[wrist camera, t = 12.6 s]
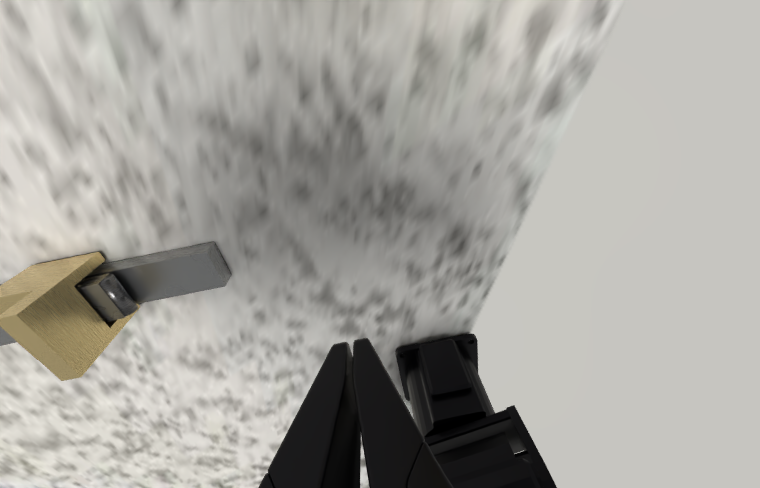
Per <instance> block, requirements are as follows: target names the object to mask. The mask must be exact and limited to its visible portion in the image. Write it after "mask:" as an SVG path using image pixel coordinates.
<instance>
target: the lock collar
mask: <svg viewBox="0 0 760 488" xmlns="http://www.w3.org/2000/svg"><path fill="white" fill-rule="evenodd" d="M104 261H105V259H104V258H103V256H102V255H101V254H100V252H96V253H91V254H86V255H81V256H76V257H71V258H66V259H61V260H56V261H51V262H46V263H41V264H36V265H32V266H30V267H29V268H27V269H25V270H24V271H22V272H21V273H19V274H18V275H16V276H15V277H13V278H11V279H10V280H8V281H7V282H5V283H4V284H2V285H1V286H0V327H1V328H2V329H3V330H5V331H6V332H7V333H8V334H9V335H10V336H11V337H12V338H13V339H15V340H16V341H17V342H18V343H19V344H20V345H21V346H22V347H23V348H25V349H26V350H27V351H28V352H29V353H30V354H31V355H32V356H34V357H35V358H36V359H37V360H39V361H40V362H41V363H42V364H43V365H45V366H46V367H47V368H48V369H49V370H50V371H51V372H52V373H53V374H55V375H56V376H57V377H58V378H59V379H60V380H61V381H64V380H69V379H74V378H79V377H82V375H83V374H84V373H85V372H86V371H87V370H88V368H89V367H90V366H91V365H92V364H93V362H94V361H95V360H96V359H97V358H98V356H99V355H100V354H101V353H102V352H103V351H104V349H105V348H106V347H107V346H108V345H109V343H110V342H111V341H112V340H113V339H114V338H115V336H116V335H117V334H118V333H119V332H120V330H121V329H122V328H123V327H124V326H125V325H126V323H127V322H128V321H129V320H130V319H131V317H132V316H133V315H134V314H135V313H136V311H137V310H138V309H139V308H140V305H139V304H136V305H137V306H138V309H137V310H136V311H135V312H134V313H132V314H130V315H128V316H126V317H125V318H122V319H117V320H113V321H108V322H104V321H103V320H102V318H101V317H100V316H99V315H98V314H97V313H96V311H95V310H94V309H93V308H92V307H91V306H90V305H89V303H88V302H87V301H86V300H85V299H84V298H83V296H82V295H81V294H80V293H79V292H78V291H77V290H76V288H75V287H74V286H75V285H76V284H77V283H78V282H79V281H81V280H82V279H83V278H84V277H86V276H87V275H88V274H89V273H90V272H92V271H93V270H94V269H95V268H97V267H98V266H99V265H100V264H101V263H103V262H104Z"/></svg>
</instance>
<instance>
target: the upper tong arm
mask: <svg viewBox="0 0 760 488" xmlns="http://www.w3.org/2000/svg"><path fill="white" fill-rule="evenodd" d="M74 287H75V288H76V290H77V291H78V292H79V293H80V294H81V295H82V296H83V298H84V299H85V300H86V301H87V302H88V303H89V305H90V306H91V307H92V308H93V309H94V310H95V311H96V313H97V314H98V315H99V316H100V317H101V318H102V320H103V321H104V322H108V321H113V320H117V319H122V318H125V317H126V316H128V315H130V314H132V313H134V312H135V311H136V310H137V309H138V306H137V305H136V303H135V302H134V301H133V299H132V298H131V297H130V295H129V294H128V293H127V292H126V290H125V289H124V288H123V286H122V285H121V284H120V282H119V281H118V280H117V278H116V277H115V276H114V275H113V274H109V273H108V274H103V275H99V276H94V277H90V278H85V279H82V280H81V281H79V282H78V283H77V284H76V285H75V286H74ZM15 342H17V341H16V340H15V339H13V338H12V337H11V336H10V335H9V334H8V333H7V332H6V331H5V330H3V329H2V328H1V327H0V346H2V345H6V344H10V343H15Z"/></svg>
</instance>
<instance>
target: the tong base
mask: <svg viewBox="0 0 760 488" xmlns="http://www.w3.org/2000/svg"><path fill="white" fill-rule="evenodd" d="M108 273H109V274H113V275H114V276H115V277H116V278H117V280H118V281H119V282H120V284H121V285H122V286H123V288H124V289H125V290H126V292H127V293H128V294H129V295H130V297H131V298H132V299H133V301H134V302H135V303H136V304H139V303H144V302H149V301H154V300H159V299H164V298H169V297H174V296H179V295H184V294H189V293H194V292H199V291H204V290H209V289H214V288H219V287H224V286H226V284H227V282H228V280H229V278H230V276H231V273H230V271H229V269H228V267H227V265H226V263H225V262H224V260H223V258H222V256H221V254H220V252H219V250H218V248H217V246H216V244H215V242H210V243H205V244H200V245H195V246H190V247H185V248H181V249H176V250H171V251H166V252H161V253H156V254H151V255H146V256H141V257H136V258H131V259H126V260H121V261H116V262H111V263H106V264H101V265H99V266H98V267H97V268H95V269H94V270H93V271H92V272H90V273H89V274H88V275H87V276H86V277H84V278H83V279H85V278H90V277H94V276H99V275H103V274H108ZM1 285H2V284H1ZM1 285H0V286H1Z"/></svg>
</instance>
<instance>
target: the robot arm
mask: <svg viewBox="0 0 760 488" xmlns="http://www.w3.org/2000/svg"><path fill="white" fill-rule="evenodd" d="M402 353H403V354H402ZM396 357H397V362H398V367H399V371H400V376H401V380H402V385H403V389H404V394H405V398H406V400H408V401H410V402H411V407H412V412H413V417H414V419H413V418H412V416H411V414H410V412H409V410H408V409H407V407H406V405H405V403H404V401H403V400H402V398H401V396H400V394H399V393H398V391H397V389H396V387H395V385H394V384H393V382H392V380H391V378H390V376H389V375H388V373H387V371H386V369H385V367H384V366H383V364H382V362H381V360H380V358H379V357H378V355H377V353H376V351H375V349H374V348H373V346H372V344H371V342H370V340H369V339H368V338H363V339H358V340H355V341H354V346H353V356H352V353H351V350H350V347H349V344H348V343H347V342H343V343H338V344H334V345H333V346H332V348H331V350H330V351H329V353H328V355H327V357H326V359H325V361H324V363H323V365H322V367H321V369H320V371H319V373H318V375H317V376H316V378H315V380H314V382H313V384H312V386H311V388H310V390H309V392H308V394H307V396H306V398H305V399H304V401H303V403H302V405H301V407H300V409H299V411H298V413H297V415H296V417H295V419H294V421H293V423H292V424H291V426H290V428H289V430H288V432H287V434H286V436H285V438H284V440H283V442H282V444H281V446H280V448H279V449H278V451H277V453H276V455H275V457H274V459H273V461H272V463H271V465H270V467H269V469H268V473H269V474H268V473H266V474H265V476H264V478H263V480H262V482H261V484H260V486H259V488H360V449H361V436H362V442H363V448H364V455H365V461H366V467H367V474H368V480H369V486H370V488H557V487H556V485H555V483H554V481H553V479H552V477H551V475H550V473H549V471H548V469H547V467H546V465H545V463H544V461H543V459H542V457H541V456H540V453H539V452H538V450H537V448H536V446H535V444H534V442H533V440H532V438H531V436H530V434H529V433H528V431H527V429H526V427H525V425H524V423H523V421H522V420H521V417H520V416H519V414H518V412H517V410H516V408H515V406H510V407H507V410H504V411H501V412H498V413H495V412H494V410H493V407H492V405H491V403H490V400H489V398H488V396H487V394H486V391H485V389H484V386H483V384H482V382H481V380H480V377H479V375H478V353H477V339H476V336H475V335H474V334H466V335H461V336H456V337H451V338H446V339H441V340H436V341H431V342H426V343H421V344H416V345H411V346H406V347H401V348H398V349H397V350H396ZM523 450H524V451H523ZM520 451H523V452H520ZM517 452H520V453H517ZM514 453H517V454H514Z"/></svg>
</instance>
